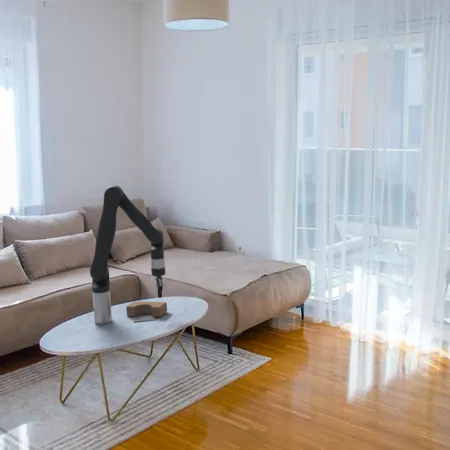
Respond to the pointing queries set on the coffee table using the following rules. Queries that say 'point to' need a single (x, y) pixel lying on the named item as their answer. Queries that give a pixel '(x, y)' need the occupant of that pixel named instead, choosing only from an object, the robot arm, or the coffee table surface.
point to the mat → (143, 318)
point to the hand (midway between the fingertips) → (160, 297)
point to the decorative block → (147, 308)
